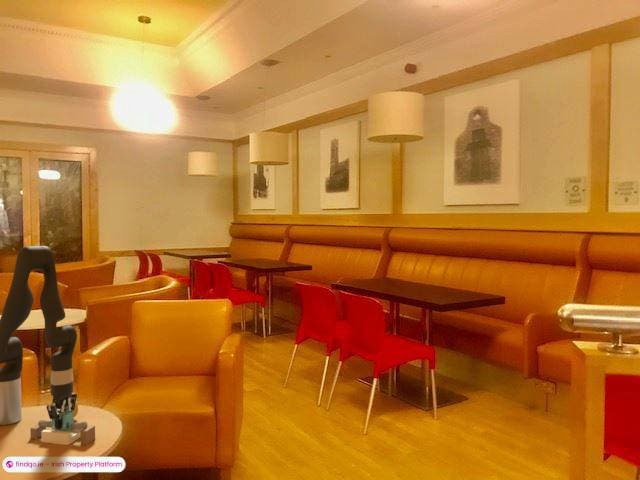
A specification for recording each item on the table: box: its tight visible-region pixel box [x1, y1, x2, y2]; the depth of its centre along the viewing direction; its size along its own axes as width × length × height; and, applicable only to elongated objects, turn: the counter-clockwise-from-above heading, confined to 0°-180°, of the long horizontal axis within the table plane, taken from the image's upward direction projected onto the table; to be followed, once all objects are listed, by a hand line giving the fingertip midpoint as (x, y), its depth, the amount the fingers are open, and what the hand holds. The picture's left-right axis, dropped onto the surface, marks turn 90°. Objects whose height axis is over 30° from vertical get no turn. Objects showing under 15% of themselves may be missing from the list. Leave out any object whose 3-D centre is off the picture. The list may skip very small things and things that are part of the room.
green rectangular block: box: [51, 410, 75, 431], centre depth 193 cm, size 6×4×6 cm, turn 78°
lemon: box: [71, 402, 79, 418], centre depth 211 cm, size 6×6×8 cm
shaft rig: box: [29, 419, 96, 446], centre depth 194 cm, size 23×9×7 cm, turn 78°
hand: (62, 426), depth 194 cm, fingers closed on green rectangular block, 4 cm apart
